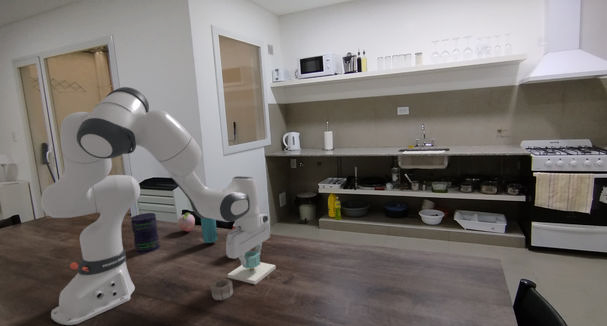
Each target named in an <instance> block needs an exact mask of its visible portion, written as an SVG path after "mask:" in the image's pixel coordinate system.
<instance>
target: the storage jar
mask: <svg viewBox="0 0 607 326" xmlns="http://www.w3.org/2000/svg"><path fill="white" fill-rule="evenodd" d="M130 221H131V230H132V232H133V237H134V238H133V242H134V243H133V245H134V247H135V248H134V249H135V253H137V254H138V255H139V254H149V253H152V252H155V251H156V250H157V251H158V250H159V249H160V247H161V246H160V237H159V234H158V228H157V227H158V222H157V217H156V213H153V212H147V213H139V214H137V215H134V216H131V217H130Z"/></svg>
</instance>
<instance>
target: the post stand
mask: <svg viewBox="0 0 607 326" xmlns="http://www.w3.org/2000/svg"><path fill="white" fill-rule="evenodd" d="M251 256H252V255H250V256H249V257H251ZM276 268H277V267H276V264H271V263H266V262H261V261H260V265H258V266H257V267H254V268H244V267H243V265H241V264H240V265H239V266H237V267H236V268H235V269H233V270H232V271H230V272H229V273H227V279H232V280H237V281H240V282H245V283H247V284H253V285H257V284H258V283H260V282H261V281H262V280H263V279H264V278H266V277H267V276H268V275H269V274H271V273H272V272H273V271H274V270H276Z"/></svg>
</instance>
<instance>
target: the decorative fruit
mask: <svg viewBox="0 0 607 326" xmlns="http://www.w3.org/2000/svg"><path fill="white" fill-rule="evenodd" d="M195 219H196V218H195V216H194V215H193V214H191V213H190V212H185V213H184V214H182V215H180V216H179V217H178V218H177V223H176V224H177V227H178V228H179V229H180V230H181V231H184V232H187V233H188V232H190V231H192V230H193V228H194V226H195V224H196V223H195V222H196V220H195Z"/></svg>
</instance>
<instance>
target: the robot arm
mask: <svg viewBox="0 0 607 326" xmlns="http://www.w3.org/2000/svg"><path fill="white" fill-rule="evenodd" d="M149 105H150V104H149V101H148V98H146V96H145V95H144V94H143V93H141V92H140V91H139V90H137V89H135V88H132V87H129V86H128V87H127V86H126V87H125V86H123V87H118V88H116V89H114V90H112V91H111V92H109V93H108V94H107V95H106V96H105V97H104V98H103V99H102V100H100V101H99V102H98V103H97V105H95V107H93V110H91V112H88V111H87V112H86V111H77V112H73V113H70V114H68V115H67V116H65V117H64V118H63V119H62V121H61V125H60V132H59V133H60V135H59V136H60V137H59V138H60V141H59V142H60V147H61V148H60V149H61V154H62V158H63V164H64V165H63V167H64V171H63V174H62V175H61V177H60V178H59V179H58V180H57V181H55V182H54V183H52V184H50V185H49V186H47V187H46V188H45V189H44V190H43V192H42V194H41V196H40V205H41V208H42V211H43V212H44V213H45V214H46V215H48V217H50V218H52V219H65V218H66V219H67V218H76V217H77V218H78V217H81V216H86V215H92V214H98V213H99V214H100V216H99V217H98V219H97V220H95V221H94V222H93V223H91V224H89V225H88V226H86V227H85V228H84V229H83V230H82V231H81V232H80V235H79V242H80V243H79V244H80V248H81V249H80V250H81V255H82V258H81V261H80V262H75V261H73V262H71V263H70V264H69V268H70V269H72V270H77V271H78V272H77V274H75V276H74V277H73V278H72V279H71V280H70V281H69V283H68V284H67V285H66V286H65V287H64V288H63V289H62V290H61V292H60V293H59V299H58V306H56V307H55V308H53V309H52V310H51V312H50V318H51V320H53V321H54V322H56V323H57V324H61V325H66V326H73V325H78V324H80V323H82V322H85V321H87V320H89V319H91V318H93V317H96V316H97V315H100V314H102V313H104V312H107V311H109V310H111V309H114V308H116V307H118V306H120V305H122V304H125V303H127V302H129V301H130V300H131V295H132V294H133V293H134V291H135V289H136V287H135V285H134V282H133V281H132V278H131V275H130V274H129V270H128V267H127V256H126V250H125V248H124V246H123V239H122V238H123V237H122V224H123V220H124V218H125V216H126V215H127V213H128V211H129V210H130V208H131V207H132V206H133V205H135V204H136V202H137V201H138V200H139V198H140V195H141V187H140V184H139V182H138V180H137V178H135V177H133V176H132V175H130V174H129V175H128V174H110V172H111V171H112V168H113V163H112V159H113V158H118V157H121V156H122V155H125V154H127V155H129V154H132V153H134V151H135V150H136V147H137V146H138V147H141V148H144V149H145V150H146V151H147V152H149V153H150V155H151V156H152V157H153V158H154V159H155V160H156V161H157V162H158V163H159V165H161V166H162V168H164V170H165V171H167V173H168V175H169V176H170V177H171V179H172V180H173V182H174V183H175V184H176V185H177V186H178V188H179V189H180V190H181V191H182V193H183V194H184V196H186V198H187V199H188V201H189V203H190V207H191V208H192V210H193V212H194V214H195V215H196V216H197V217H198V218H200V219H201V218H208V219H215V220H216V221H219V222H220V221H221V222H225V223H229V222H234V224H235V229H232V228H231V229H230V230H229V232H228V234H227V235H226V240H225V241H226V243H225V244H226V245H225V252H226V253H225V254H226V257H228V258H230V259H237V258H238V259H239V260H240V266H241V265H246V264H247V263H248V262H247V259H245V258H244V256H245V253H246V252H247V251H249V250H250V251H252V249H254V248H255V250H254V251H258V252H259V255H261V253H262V252H261V250H262V246H263V243H264V242H265V241H267V240H268V239H269V238H270V236H271V227H270V226H271V224H270V216H269V215H268V214H265V213H261V212H260V211H261V210H260V208H259V190H258V185H257V182H256V180H255V178H253V177H252V176H238V175H237V176H234V177H232V179H231V182H230V184H228V185H227V187H226V188H224V189H223V190H221V189H214V188H211V187H208V186H205V184H203V182H202V181H201V180H200V178H199V176H198V175H197V173H195V170H196V169H197V168H198V167H199V165H200V164H201V162H202V155H203V153H202V150H201V148H200V146H199V144H198V143H197V141H196V139H195V138H194V136H192V135H191V134H190V132H189V131H188V130H187V129H186V128H185V127H184V126H183V124H181V123H180V122H179V121H178V120H177V119H176V118H175V117H174V116H173V115H171V114H170V113H169V112H167V111H165V110H162V109H154V110H150V106H149ZM109 174H110V175H109Z"/></svg>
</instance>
